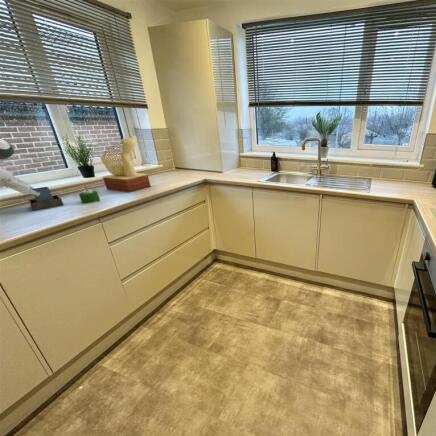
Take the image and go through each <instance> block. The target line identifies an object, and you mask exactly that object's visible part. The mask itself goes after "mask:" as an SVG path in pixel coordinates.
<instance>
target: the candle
mask: <svg viewBox="0 0 436 436" xmlns="http://www.w3.org/2000/svg"><path fill="white" fill-rule="evenodd" d="M84 189H85V190H83V191H82V192H80V193H78V196H79V199H80V201H81V203H82V204H93V203H96V202H97V203H99V202H100V201H101V200H100V197H99V194H98V191H97V190H93V189H89V187H88V185H86V184H85V185H84Z"/></svg>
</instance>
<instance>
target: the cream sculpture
mask: <svg viewBox="0 0 436 436" xmlns="http://www.w3.org/2000/svg"><path fill="white" fill-rule="evenodd" d="M136 142H137V141H136V139H135V138H134V136H133V135H130V137H129V136H128V137H125V138H121V139H120V142H119V143H116V144H113V145H110V146H109V147H108V148H106V149H105V150H104V153H103V154H102V155H100V161H101V162H102V164H103V165H104V167H105V168H106V169H107V171H108V172H109V173H110V175H104V176H102V179H103V182H104V185H105V187H106V190H108V191H115V192H124V193H132V192H136V191H140V190H143V189H147V188H150V187H152V186H151V182H150V178H149V174H148V173H142V172H137V171H136V169H135V167H134V158H133V152H134V151H135V148H136Z"/></svg>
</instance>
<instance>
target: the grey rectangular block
mask: <svg viewBox="0 0 436 436" xmlns="http://www.w3.org/2000/svg"><path fill="white" fill-rule="evenodd" d="M33 188H34V189H32V190H34V191H37V192H39V193H40V195H39V196H37V195H34V194H33V196H34V199H36V201H37V203H38V202H43V201H49V200H54V199H53V197H52V196H53V195H52V192H51V190H50V188H49V186H42V187H33Z"/></svg>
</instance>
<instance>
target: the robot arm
mask: <svg viewBox="0 0 436 436" xmlns="http://www.w3.org/2000/svg"><path fill="white" fill-rule="evenodd" d="M14 154H15V148H14V146H13V145H12V144H11V143H10V142H9V141H7V140H5V139H4V138H1V137H0V166H1V165H2V164H3V163H4V162H5V161H7V159H9V158H10V157H12V156H13V155H14ZM4 187H5V188H9V189H12V190H13V191H15V192H18V193H21V194H25V195H27V194H30V195H33V196H34V195H37V196H39V195H40V193H39V192H37V191H34V190H32V189H34V188H35V187H32V186H30V185H29V183H28V182H26V181H25V180H23V179H21V178H19V177H17V176H14V173H13V172H11V171H9V170H7V169H4V168H2V167H0V189H2V188H4Z"/></svg>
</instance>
